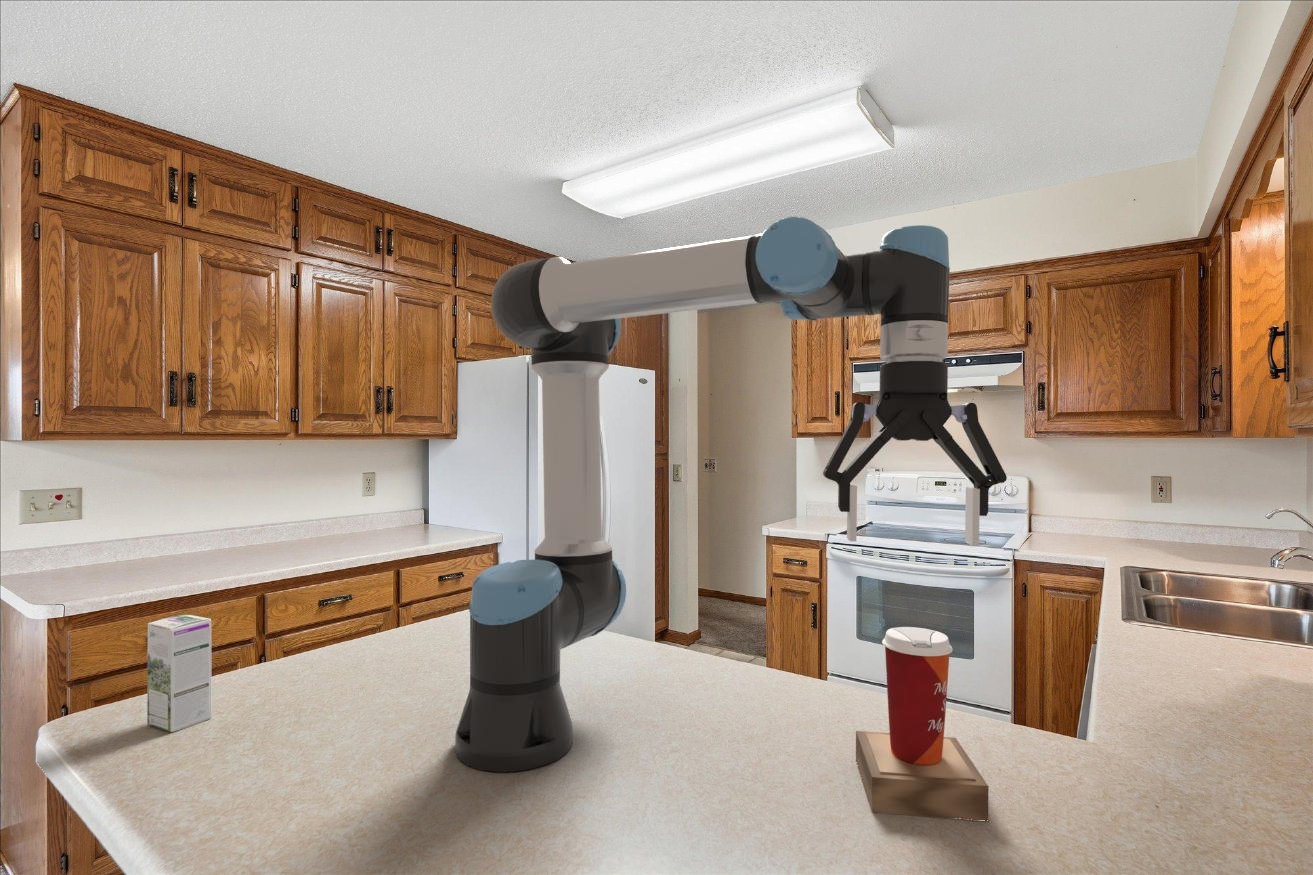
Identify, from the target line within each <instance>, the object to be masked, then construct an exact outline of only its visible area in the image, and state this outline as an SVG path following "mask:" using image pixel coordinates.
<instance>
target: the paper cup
mask: <svg viewBox="0 0 1313 875" xmlns="http://www.w3.org/2000/svg"><path fill="white" fill-rule="evenodd" d="M881 642H882V645H883V646H884V648H885V650H884V652H885V654H884V655H885V668H886V669H885V670H886V672H885V673H886V691H887V692H886V693H887V707H888V708H887V709H888V710H887V711H888V727H889V728H888V729H889V733H890V745H891V752H892V754H893V755H894V756H895V757H896V758H898V759H900V760H902V761H904V762H907V763H910V764H915V765H923V766H929V765H935V764H938V763H939V762H940V761H941V759H942V752H943V740H944V737H945V725H946V712H947V698H948V697H947V696H948V694H947V693H948V682H949V680H948V679H949V666H950V654H951V653H952V652H953V647H952V645H951V644H950V640H949V637H948V635H946V634H945V633H943V632H940V631H936V630H933V629H929V628H923V627H914V626H899V627H897V626H896V627H891V628H889V629H887V630H886V632H885V637H884V638H883V639H882V641H881Z"/></svg>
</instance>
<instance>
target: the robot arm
mask: <svg viewBox="0 0 1313 875" xmlns="http://www.w3.org/2000/svg"><path fill="white" fill-rule="evenodd" d="M949 257H950V251H949V237H948V235H947V234H946V233H945V231H944V230H942V229H941V228H939V227H937V226H932V225H922V224H921V225H920V224H919V225H908V226H907V225H906V226H902V227H901V228H897V229H896V228H895V229H892V230H889V231H888V232H887V233H885V234H884V235H883V237H882V238H881V245H880V246H879V250H874V251H871V252H865V253H864V252H863V253H854V254H853V253H852V254H843V252H842V251H841V249H839V248H838V247H837V245H836V241H835V240H834V239H833V237H832V236H831V235H830V234H829V233H828V232H827V231H826V229H824V228H823V227H821V226H820V224H819V225H818V224H817V223H815V221H812V220H811V219H809V218H806V217H803V216H788V217H784V218H781V219H779V220H777V221H776V222H774V223H772V224H771V225H770V226H769V227H768V228H766V229H765V230H764V231H763V233H758V234H752V235H749V236H741V237H735V238H734V237H733V238H730V239H728V238H727V239H721V240H714V241H708V242H701V243H695V244H688V245H683V246H675V247H668V248H662V249H655V250H650V251H649V250H648V251H642V252H637V253H635V252H634V253H629V254H620V255H617V256H610V257H608V256H607V257H601V258H595V259H589V260H582V261H576V262H570V261H569V260H567V259H566V258H564V257H562V256H554V257H547V258H540V259H533V260H528V261H524V262H521V263H518V264H516V265H513V266H511V267H510V268H508V269H507V270H505V272H503V273H502V274H501V276H500V277H499V278H498V279H497V281H496V283H495V285H494V287H493V289H492V292H491V298H490V299H491V300H490V310H491V313H492V318H493V321H494V322H495V325H496V327H497V328H498V330H499V331H500V333H501V334H502V335H503V336H504V337H505V338H506V339H508V341H511V342H512V343H513V344H516V345H517V346H519V347H522V348H526V349H530V352H531V353H530V354H531V355H530V357H531V369H532V370H533V371H534V373H536V375H537V376H538V377H540V379H541V389H542V390H541V398H542V400H541V403H542V446H543V447H542V450H543V452H542V455H543V456H542V457H543V459H542V462H543V466H542V467H543V510H544V511H543V514H544V515H543V516H544V517H543V518H544V519H543V520H544V521H543V522H544V526H543V527H544V538H543V540H542V541H541V543H539V545H538V546H537V547H536V548H535V549H534V559H519V560H516V561H513V562H512V561H511V562H510V561H507V562H502V563H500V564H499V563H498V564H496V565H493V566H490V567H488V568H486V569H484V570H482V572H480V573H479V574H477V576H476V577H475V578H474V580H473V582H472V586H471V598H470V601H469V607H468V610H469V618H470V620H469V626H470V627H469V638H470V640H469V647H470V648H469V650H470V651H469V662H470V663H469V673H470V674H469V676H470V677H469V679H470V680H469V692H468V694H467V698H466V700H465V704H464V706H463V709H462V712H461V716H460V719H459V722H458V725H457V728H456V730H455V741H454V742H455V743H454V749H455V750H454V751H455V752H454V753H455V755H456V758H458V759H457V760H459V761H460V762H462V763H463V764H464V765H466V766H469V767H471V768H474V769H476V770H477V769H478V770H483V771H487V772H488V771H489V772H501V773H502V772H504V773H506V772H517V771H520V772H521V771H526V770H532V769H536V768H539V767H543V766H546V765H549V764H551V763H553V762H555V761H558V760H559V759H561V758H562V757H564V756H565V755H566V754H567V753H568V752H569V751H570V750H571V748H572V746H573V737H574V736H573V729H574V728H573V727H574V726H573V721H572V717H571V714H570V712H569V709H568V705H567V702H566V699H565V696H564V693H563V690H562V686H561V650H562V649H565V648H568V647H569V646H572V645H574V644H576V643H578V642H581V641H582V640H585V639H588V638H591V637H594V636H596V635H598V634H600V633H601V632H603V631H604V630H606V628H608V627H609V626H610V625H612V624H613V623H614V622H615V621H616V620H617V619H618V617H619V616H620V615H621V613H622V611H623V608H624V606H625V603H626V598H627V585H626V579H625V576H624V573H623V571H622V570H621V569H620V568H618V564H617V562H615V561H614V560H613V546H612V545H611V544H610V543H609V542H608V541H607V540H606V539H605V538H604V537H603V530H602V528H603V526H602V481H601V480H602V479H601V476H602V475H601V474H602V472H601V468H602V467H601V466H602V464H601V417H600V416H601V415H600V414H601V413H600V378H601V377H602V376H603V374H605V373H606V372H607V371H608V370H609V367H610V363H609V362H610V361H609V359H610V358H609V355H610V354H611V353H612V352H613V350H614V347H615V346H616V345H618V342H619V339H620V336H621V332H622V331H621V330H622V321H621V319H625V318H626V319H627V318H634V317H645V316H652V315H663V314H672V313H681V312H689V311H691V312H692V311H699V310H707V309H709V310H710V309H718V308H725V307H726V308H727V307H734V306H735V307H736V306H744V305H754V304H765V303H775V302H776V303H777V302H779V304H780V308H781V309H782V313H783V315H784V316H785V317H786V318H787V319H789V320H792V321H795V320H797V321H800V320H802V321H804V320H808V321H813V322H814V321H817V320H823V319H833V318H834V319H837V318H845V317H846V318H848V317H860V316H874V315H880V336H879V337H880V339H879V340H880V342H879V345H880V346H879V349H880V350H879V359H880V360H882V361H883V362H884V363H883V364H881V366H880V367H879V398H878V402H877V404H875V405H874V404H866V403H864V402H861V401H857V402H855V403H853V405H852V407H851V412H850V420H849V422H848V424H847V426H846V428H845V430H844V432H843V433H842V436H841V437H840V439H839V441H838V442H837V445H836V447H835V449H834V451H833V452H832V454H831V456H830V458H829V460H828V462H827V464H826V466H825V468H824V469H823V472H822V475H823V477H824V478H826V479H827V480H829V481H830V480H831V481H832V482H835V483H836V484H837V486H838V489H837V490H838V492H837V495H838V496H837V498H838V499H837V506H838V510H839V511H840V512H842V513H846V538H847V540H848V541H849V542H857V532H858V531H857V529H858V528H857V524H858V523H857V522H858V521H857V520H858V518H857V517H858V516H857V515H858V486H857V485H855V484H851V482H852V481H853V480H854V479H855V478H856V477H857V476H858V475H859V473H861V472H862V471H863V469H864V468H865V467H866V466H867V465H868V464H869V462H870V461H872V459H874V457H875V456H876V455H877V454H878V453H879V452H880V451H881V449H882V448H883V447H884V446H885V445H886V444H887V443H888V442H889V441H891V439H894V440H896V441H904V442H905V441H910V440H912V441H917V442H921V441H922V442H925V441H926V442H927V441H930V440H933V441H934V442H935V443H936V445H938V446H939V447H940V448H941V449H942V450H943V451H944V453H945V454H946V455H947V456H948V457H949V458H950V460H952V462H953V463H954V464H955V465H956V466H957V468H958V469H959V470H960V471H961V472H962V474H963V475H964V476H965V477H966V478H967V479H968V480H969V481H970V482H971V484H972V485H973V487H969V486H968V487H966V486H965V510H964V512H965V517H964V518H965V519H964V520H965V521H964V526H965V527H964V528H965V530H964V534H965V535H964V542H965V543H966V544H967V545H970V546H973V547H975V546H976V547H979V546H980V517H987V516H988V514H989V495H990V494H989V491H990V488H992V487H993V486H995V485H998V484H1003V483H1005V482H1007V480H1008V477H1007V475H1006V472H1005V470H1004V468H1003V466H1002V465H1001V462H1000V460H999V459H998V457H997V455H996V453H995V451H994V449H993V447H992V444H991V443H990V441H989V439H988V438H987V435H986V433H985V432H984V429H983V427H982V426H981V424H980V421H979V413H978V407H977V406H978V405H977V403H974V402H966V403H963V404H958V405H950V403H949V399H948V387H949V386H948V385H949V384H948V383H949V382H948V380H949V376H948V375H949V373H948V372H949V369H948V368H949V365H947V363H946V362H943V360H945V359H946V358H947V357H948V355H949V337H948V336H949V304H950V303H949V301H950V300H949V298H950V297H949V296H950V269H951V268H950V258H949ZM872 415H875V417H876V419H878V421H879V422H880V424H881V425H882V427H881V428H880V429H879V430H878V431H877V432H876V434H875V435H874V436H873V437H872V439H871V440H870V441H869V442H868V443H867V444H866V445H865V447H864V448H863V449H862V450H861V451H860V452H859V453H858V454H857V455H856V456H855V458H853V460H852V461H851V462H850V463H849V464H848V465H847V466H846V467H845V468H844V470H843V471H842V472H840V471H839V469H840V467H841V465H842V464H843V462H844V460H845V458H846V456H847V454H848V452H849V451H850V449H851V447H852V445H853V443H854V441H855V439H856V437H857V435H858V434H859V432H860V430H861V428H862V426H863V422H864V423H865V422H868V421H869V420H870V418H871V417H872ZM951 416H953V417H954V418H955V420H956V421H957V422H958V423H960V424H961V426H962V428H963V430H964V432H965V434H966V436H967V438H968V441H969V442H970V444H971V446H972V448H973V450H974V453H975V455H976V456H977V458H978V461H979V462H980V463H981V466H982V468H983V470H984V471H985V474H984V472H983V471H982V470H981V469H980V467H978V465H976V463H975V462H974V461H973V460H972V459H971V457H970V456H969V455H968V454H967V453H966V452H965V450H964V449H963V448H962V447H961V446H960V445H959V443H958V442H957V441H955V439H954V437H953V436H952V434H951V433H950V432H949V431H948V429H947V428H945V426H944V425H945V424H946V423H947V421H948V420H949V419H950V418H951Z"/></svg>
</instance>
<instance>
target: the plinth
mask: <svg viewBox="0 0 1313 875" xmlns="http://www.w3.org/2000/svg"><path fill="white" fill-rule="evenodd" d="M856 762H857V763H856ZM855 763H856V766H857V765H858V766H857V769H859V770H858V773H859V772H860V773H859V775H861V776H860V778H862V779H861V782H862V785H863V788H865V789H864V791H865V794H866V798H867V802H868V804H869V808H870V811H871V812H872V813H878V814H879V813H881V814H890V815H892V814H893V815H902V816H903V815H904V816H915V817H924V818H925V817H927V818H936V817H938V818H939V819H948V818H958V819H957V820H959V818H961V819H969V820H968V821H971V819H972V820H985V821H987V820H988V821H989V785H988V784H987V782H986V780H985V779H984V777H983V776H982V774H981V773H980V772H979V770H978V769H977V767H976V766H975V764H974V762H973V761H972V759H971V758H970V757H969V755H968V753H967V752H966V751H965V750H964V748H963V746H962V745H961V743H960V742H959V741H958V739H957V737H953V736H952V737H950V736H949V737H947V736H944V740H943V752H942V759H941V761H940V762H939V763H938V764H935V765H929V766H923V765H915V764H910V763H907V762H904V761H902V760H900V759H898V758H896V757H895V756H894V755H893V754H892V752H891V745H890V732H879V731H878V732H877V731H867V730H866V731H863V730H855ZM942 817H943V818H942ZM938 818H937V819H938Z"/></svg>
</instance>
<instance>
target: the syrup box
mask: <svg viewBox="0 0 1313 875" xmlns="http://www.w3.org/2000/svg"><path fill="white" fill-rule="evenodd" d="M146 650H147V651H146V652H147V658H146V660H147V664H146V665H147V667H146V668H147V672H146V673H147V682H146V683H147V689H146V690H147V691H146V694H147V700H146V701H147V702H146V703H147V706H146V707H147V714H146V715H147V716H146V717H147V719H146V720H147V721H146V722H147V724H146V725H147V726H150V727H153V728H156V729H160V730H163V731H166V732H169V733H174V732H177V731H179V730H184V729H186V728H188V727H193V726H195V725H197V724H200V723H202V722H205V721H208V720H210V719H211V718H212V619H211V618H209V617H203V616H198V615H193V614H192V615H191V614H180V615H174V616H169V617H165V618H161V619H158V620H155V621H151V622H147V649H146Z"/></svg>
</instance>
